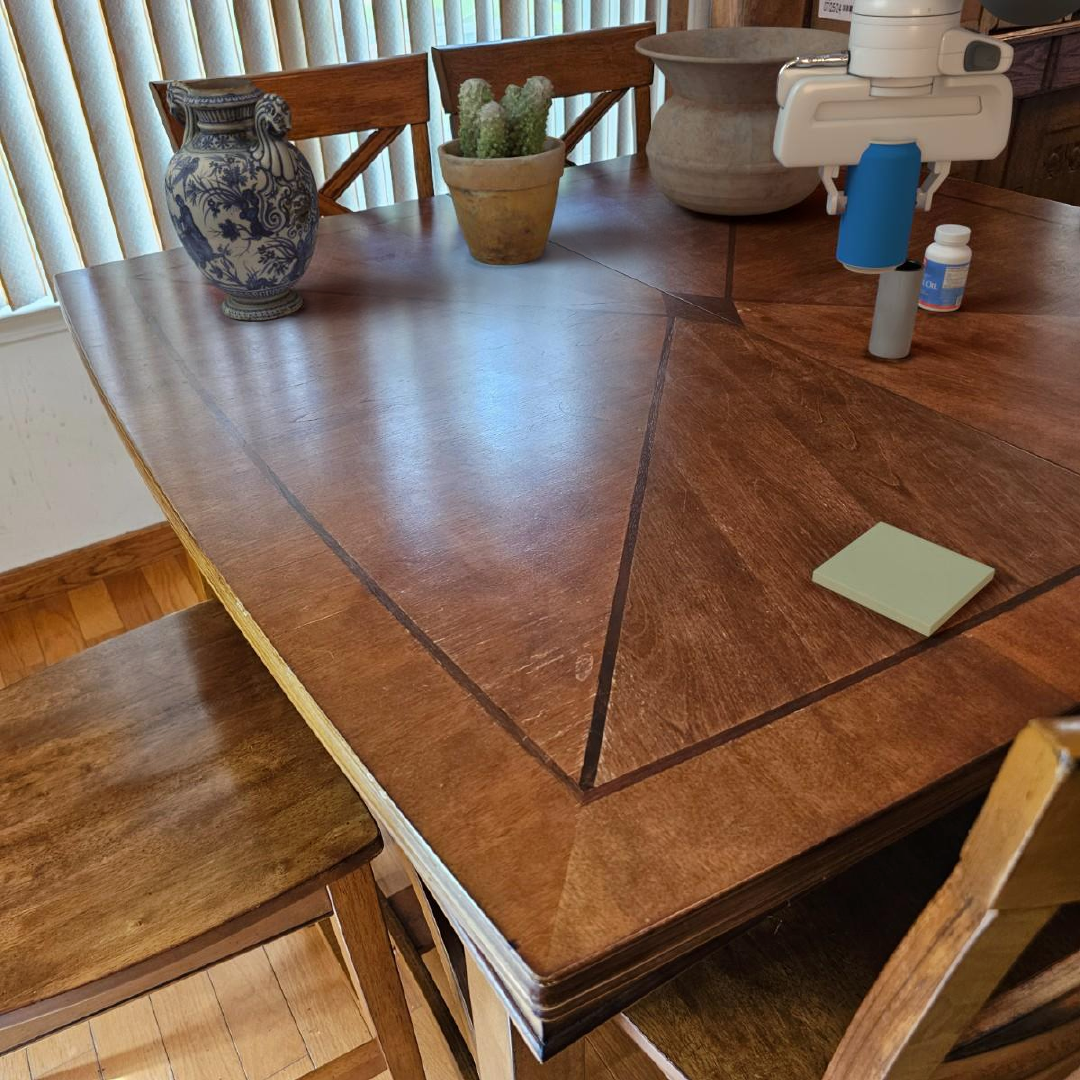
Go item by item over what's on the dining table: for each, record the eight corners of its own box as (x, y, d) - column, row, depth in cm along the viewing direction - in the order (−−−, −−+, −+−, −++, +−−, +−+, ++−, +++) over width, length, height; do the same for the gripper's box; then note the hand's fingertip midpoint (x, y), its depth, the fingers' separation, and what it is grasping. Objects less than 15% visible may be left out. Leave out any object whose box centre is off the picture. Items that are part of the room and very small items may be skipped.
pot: (752, 252, 145) (769, 66, 131) (589, 209, 167) (589, 46, 153) (879, 203, 164) (906, 36, 150) (718, 170, 185) (728, 21, 171)
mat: (992, 579, 78) (995, 568, 77) (928, 637, 72) (931, 626, 72) (878, 530, 84) (880, 520, 83) (811, 581, 78) (813, 570, 78)
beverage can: (919, 267, 94) (941, 135, 88) (869, 281, 92) (888, 146, 85) (869, 250, 99) (887, 124, 93) (821, 263, 97) (835, 134, 90)
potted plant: (432, 271, 143) (414, 85, 129) (463, 233, 158) (450, 62, 144) (556, 275, 140) (552, 84, 126) (576, 235, 155) (573, 61, 141)
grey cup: (875, 360, 113) (889, 271, 107) (863, 344, 116) (876, 258, 111) (914, 358, 113) (931, 269, 107) (901, 342, 116) (916, 256, 111)
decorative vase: (369, 298, 135) (339, 75, 119) (269, 345, 122) (221, 102, 107) (260, 274, 145) (219, 65, 129) (157, 315, 132) (98, 89, 117)
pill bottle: (907, 299, 128) (921, 224, 122) (946, 295, 128) (961, 220, 123) (928, 315, 123) (944, 237, 118) (968, 310, 124) (985, 233, 118)
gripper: (785, 60, 83) (771, 225, 91) (1034, 48, 82) (999, 216, 90) (773, 49, 88) (761, 206, 96) (1006, 38, 87) (975, 198, 95)
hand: (877, 211), depth 93 cm, fingers closed on beverage can, 6 cm apart
